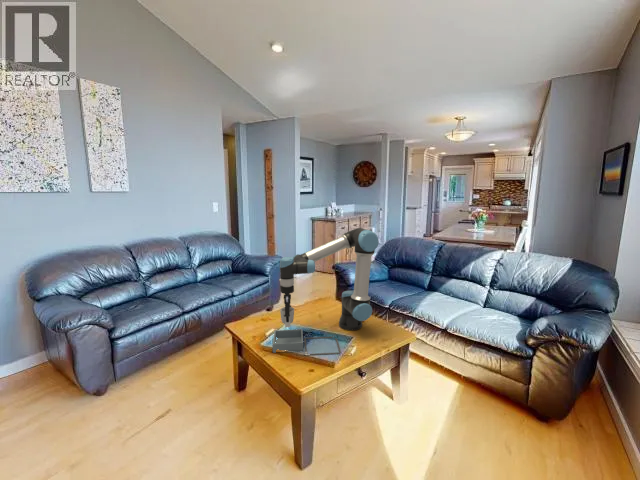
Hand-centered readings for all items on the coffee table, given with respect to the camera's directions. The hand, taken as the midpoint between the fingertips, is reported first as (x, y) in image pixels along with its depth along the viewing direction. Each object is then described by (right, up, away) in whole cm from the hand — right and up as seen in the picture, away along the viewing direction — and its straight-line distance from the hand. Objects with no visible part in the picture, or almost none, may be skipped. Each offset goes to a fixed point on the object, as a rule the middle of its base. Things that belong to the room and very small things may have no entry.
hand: (287, 322), depth 175 cm
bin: (0, -13, +2) cm, 13 cm away
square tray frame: (+19, -13, +1) cm, 23 cm away
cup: (0, -1, 0) cm, 1 cm away
